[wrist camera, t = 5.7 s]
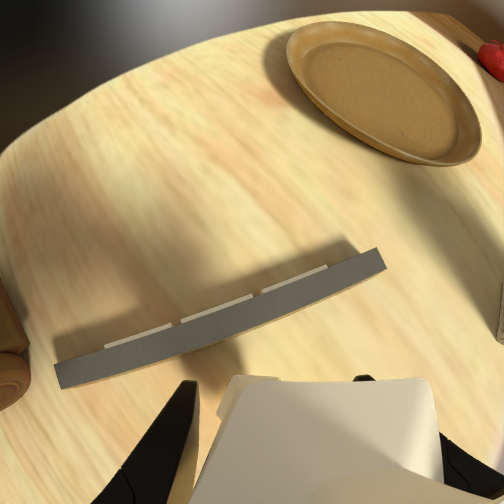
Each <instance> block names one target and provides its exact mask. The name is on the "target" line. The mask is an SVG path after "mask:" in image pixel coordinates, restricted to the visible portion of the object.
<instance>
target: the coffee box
mask: <svg viewBox="0 0 504 504" xmlns="http://www.w3.org/2000/svg"><path fill="white" fill-rule="evenodd" d="M496 340H497V341H498V342H500V343H501V344H503V345H504V281H503V286H502V298H501V309H500V318H499V326H498V332H497V339H496Z"/></svg>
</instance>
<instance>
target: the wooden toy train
mask: <svg viewBox="0 0 504 504" xmlns="http://www.w3.org/2000/svg"><path fill="white" fill-rule="evenodd" d="M29 345H30V342H29V340H28V338H27V336H26V334H25V332H24V330H23V328H22V326H21V324H20V322H19V320H18V318H17V316H16V314H15V311H14V309H13V307H12V305H11V302H10V300H9V298H8V295H7V293H6V291H5V288H4V286H3V283H2V280H1V278H0V411H1V410H3V409H5V408H7V407H8V406H10V405H12V404H13V403H15V402H16V401H17V400H18V399H19V398H21V397H22V396H23V395H24V393H25V392H26V391H27V389H28V387H29V385H30V382H31V372H30V366H29V365H28V363H27V362H26V361H25V360H24V359H23V358H22V357H21V356H19V355H20V354H21V353H22V352H23V351H24V350H25V349H26V348H27V347H28V346H29Z"/></svg>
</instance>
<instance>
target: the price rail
mask: <svg viewBox="0 0 504 504" xmlns="http://www.w3.org/2000/svg"><path fill="white" fill-rule="evenodd" d="M386 269H387V267H386V265H385V263H384V261H383V259H382V257H381V255H380V253H379V251H378V249H377V247H376V248H374V249H371V250H369V251H367V252H364V253H362V254H360V255H357V256H355V257H353V258H350V259H348V260H345V261H343V262H341V263H338V264H336V265H333V266H331V267H329V268H328V267H327V265H326V264H325V265H323V266H321V267H318V268H316V269H313V270H311V271H308V272H306V273H303V274H300V275H298V276H295V277H293V278H290V279H288V280H285V281H283V282H280V283H277V284H275V285H272V286H270V287H267V288H264V289H262V290H261V292H260V294H259V295H258V296H255V297H253V295H252V293H251V294H249V295H246V296H243V297H241V298H238V299H235V300H233V301H230V302H227V303H224V304H222V305H219V306H216V307H213V308H211V309H208V310H205V311H202V312H200V313H197V314H194V315H191V316H188V317H185V318H183V319H180V320H181V323H182V324H179V325H176V326H175V325H173V324H172V323H168V324H165V325H162V326H160V327H157V328H154V329H151V330H148V331H145V332H142V333H139V334H136V335H133V336H130V337H127V338H124V339H121V340H118V341H115V342H111V343H108V344H105V345H104V348H105V349H103V350H100V351H97V352H94V353H91V354H87V355H84V356H81V357H77V358H74V359H71V360H67V361H64V362H61V363H57V364H54V367H55V371H56V374H57V378H58V381H59V384H60V387H61V389H70V388H77V387H81V386H84V385H88V384H92V383H96V382H99V381H103V380H106V379H110V378H113V377H117V376H120V375H124V374H127V373H130V372H134V371H137V370H140V369H143V368H146V367H150V366H153V365H156V364H159V363H162V362H165V361H168V360H171V359H174V358H177V357H180V356H183V355H186V354H189V353H192V352H195V351H197V350H200V349H203V348H206V347H209V346H211V345H214V344H217V343H220V342H222V341H225V340H228V339H230V338H233V337H236V336H238V335H241V334H244V333H246V332H249V331H251V330H254V329H256V328H259V327H261V326H264V325H266V324H269V323H271V322H274V321H276V320H279V319H281V318H284V317H286V316H288V315H291V314H293V313H296V312H298V311H300V310H303V309H305V308H307V307H310V306H312V305H314V304H317V303H319V302H321V301H323V300H326V299H328V298H330V297H332V296H335V295H337V294H339V293H341V292H343V291H345V290H348V289H350V288H352V287H354V286H356V285H358V284H361V283H363V282H365V281H367V280H369V279H371V278H373V277H375V276H376V275H378V274H380V273H381V272H383V271H384V270H386Z"/></svg>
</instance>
